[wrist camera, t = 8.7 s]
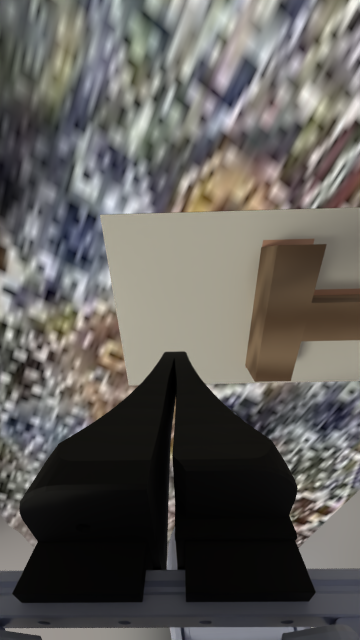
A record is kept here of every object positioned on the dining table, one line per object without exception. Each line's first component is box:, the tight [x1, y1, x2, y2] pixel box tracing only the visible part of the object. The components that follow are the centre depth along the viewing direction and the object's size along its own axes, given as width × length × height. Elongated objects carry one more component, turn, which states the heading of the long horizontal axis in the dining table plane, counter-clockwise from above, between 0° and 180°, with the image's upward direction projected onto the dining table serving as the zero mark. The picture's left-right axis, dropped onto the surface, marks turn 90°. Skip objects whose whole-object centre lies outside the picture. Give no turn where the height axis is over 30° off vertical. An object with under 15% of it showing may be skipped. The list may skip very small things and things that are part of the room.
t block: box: [245, 244, 360, 382], centre depth 18 cm, size 14×14×3 cm
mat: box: [100, 207, 360, 385], centre depth 19 cm, size 20×34×1 cm, turn 91°
